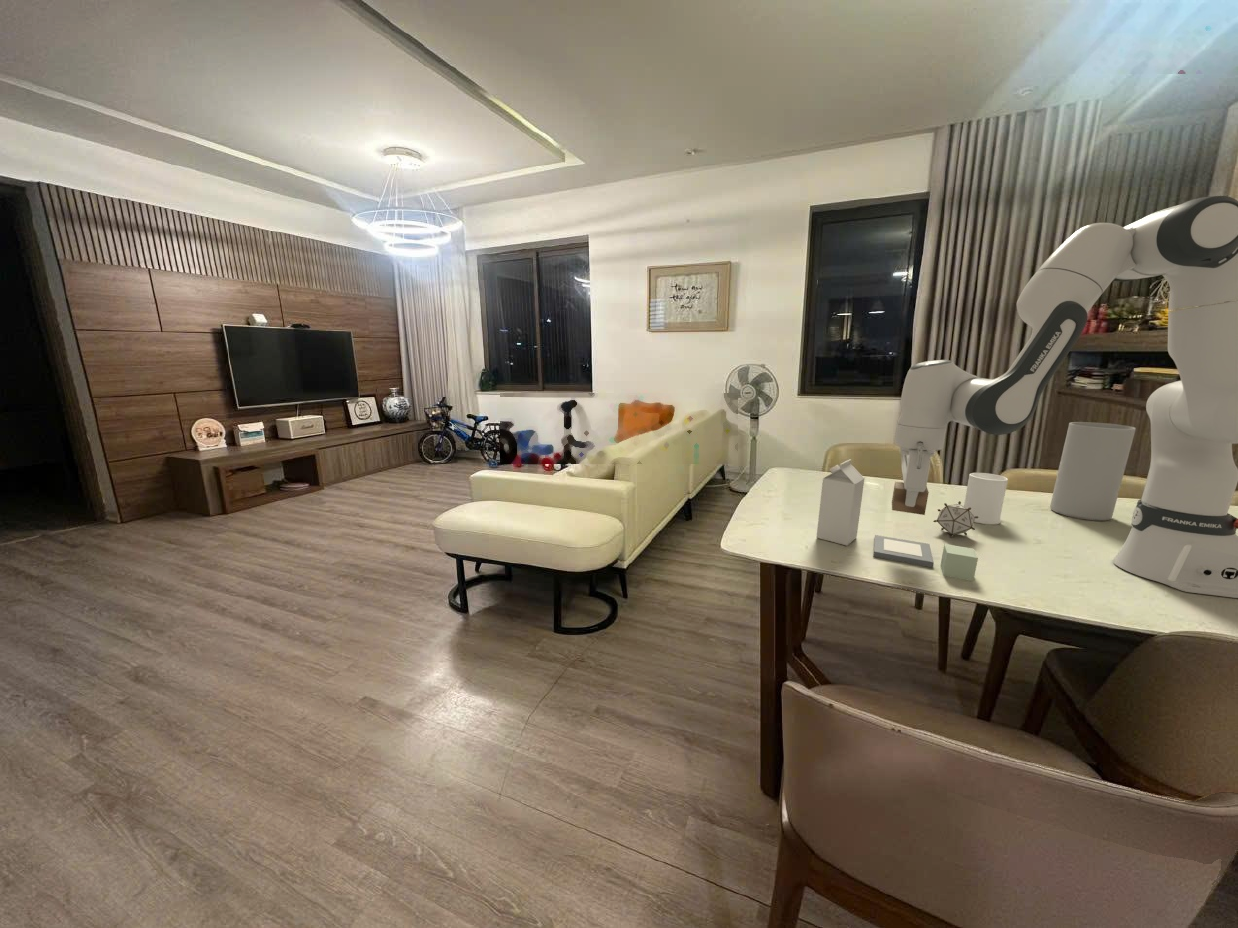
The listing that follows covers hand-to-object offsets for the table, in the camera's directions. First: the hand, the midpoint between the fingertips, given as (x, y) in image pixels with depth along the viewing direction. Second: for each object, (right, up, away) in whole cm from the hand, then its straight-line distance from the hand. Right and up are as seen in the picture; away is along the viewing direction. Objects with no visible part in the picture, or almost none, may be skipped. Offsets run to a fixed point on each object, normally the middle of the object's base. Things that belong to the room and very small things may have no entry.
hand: (908, 500), depth 102 cm
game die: (+19, -10, +14) cm, 25 cm away
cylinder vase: (+66, -6, +29) cm, 72 cm away
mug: (+36, -7, +25) cm, 44 cm away
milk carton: (-11, -10, +11) cm, 18 cm away
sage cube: (+6, -14, -7) cm, 17 cm away
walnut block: (0, -2, 0) cm, 2 cm away
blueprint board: (0, -12, +3) cm, 12 cm away
